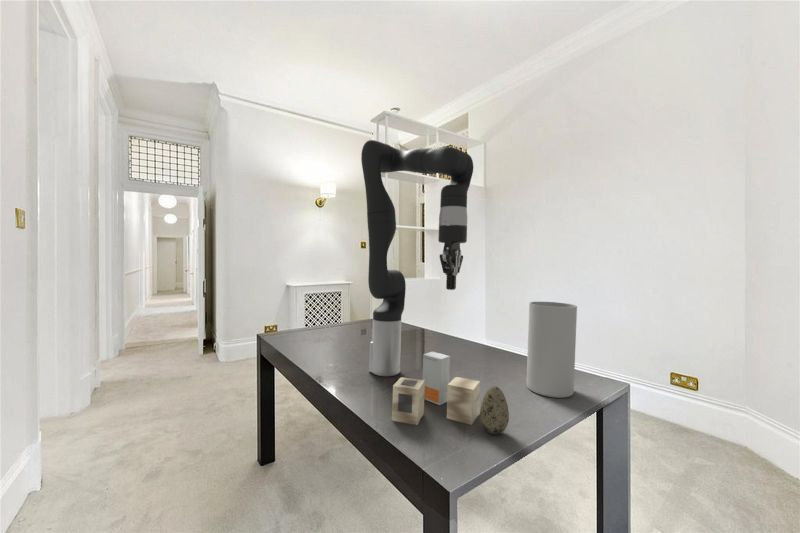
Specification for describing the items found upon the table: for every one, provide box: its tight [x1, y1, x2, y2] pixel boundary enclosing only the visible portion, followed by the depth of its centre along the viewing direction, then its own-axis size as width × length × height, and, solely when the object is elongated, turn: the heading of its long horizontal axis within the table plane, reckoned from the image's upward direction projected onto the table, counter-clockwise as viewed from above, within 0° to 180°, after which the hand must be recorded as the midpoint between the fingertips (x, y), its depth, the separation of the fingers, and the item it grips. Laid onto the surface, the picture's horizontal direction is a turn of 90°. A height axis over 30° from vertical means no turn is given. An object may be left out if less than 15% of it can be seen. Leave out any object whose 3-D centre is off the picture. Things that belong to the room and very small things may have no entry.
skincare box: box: [421, 351, 451, 406], centre depth 87 cm, size 6×4×12 cm
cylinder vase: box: [526, 301, 578, 399], centre depth 96 cm, size 12×12×25 cm
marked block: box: [391, 376, 425, 426], centre depth 77 cm, size 6×6×8 cm
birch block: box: [446, 376, 481, 426], centre depth 78 cm, size 6×6×8 cm
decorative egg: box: [479, 385, 510, 435], centre depth 71 cm, size 6×6×10 cm
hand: (450, 289), depth 89 cm, fingers closed
